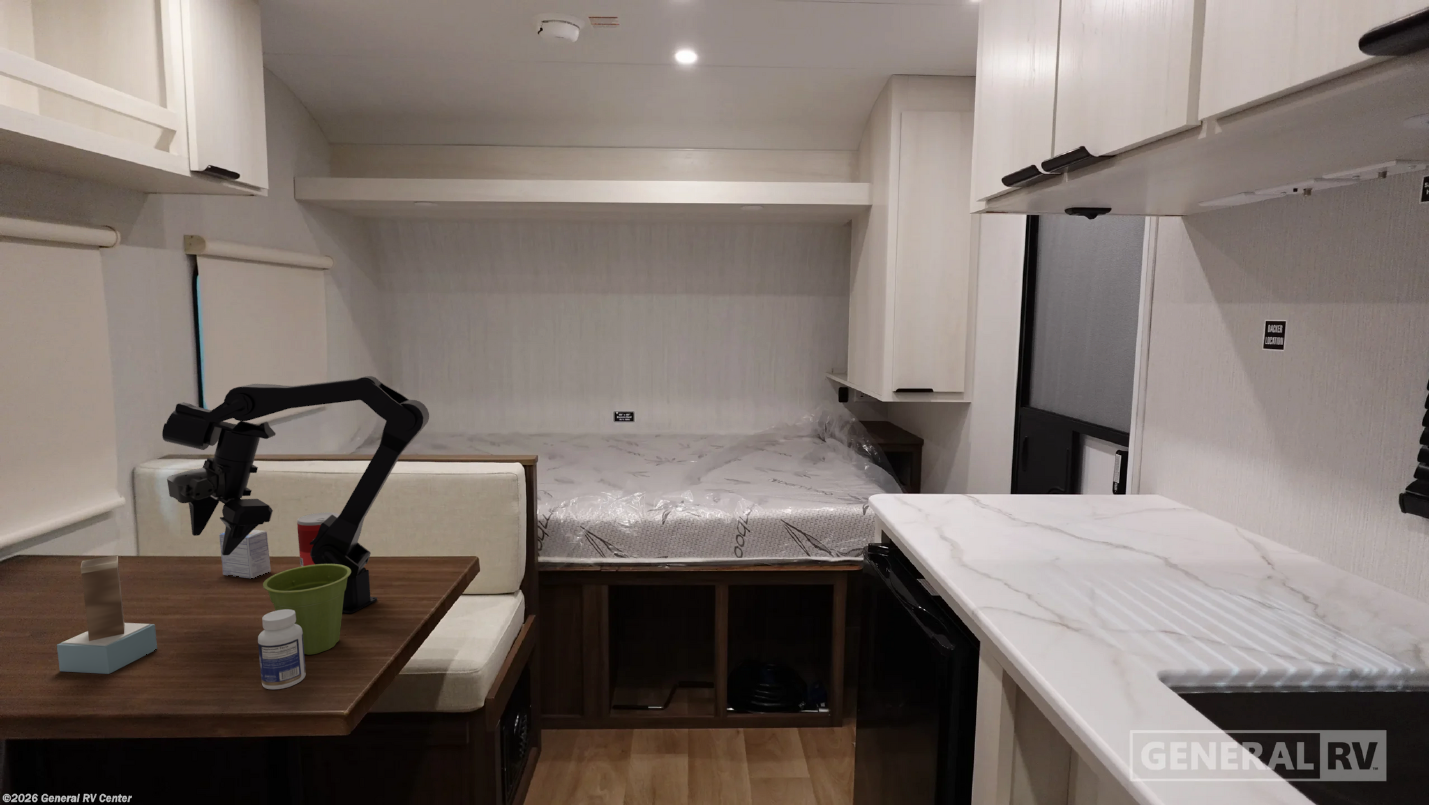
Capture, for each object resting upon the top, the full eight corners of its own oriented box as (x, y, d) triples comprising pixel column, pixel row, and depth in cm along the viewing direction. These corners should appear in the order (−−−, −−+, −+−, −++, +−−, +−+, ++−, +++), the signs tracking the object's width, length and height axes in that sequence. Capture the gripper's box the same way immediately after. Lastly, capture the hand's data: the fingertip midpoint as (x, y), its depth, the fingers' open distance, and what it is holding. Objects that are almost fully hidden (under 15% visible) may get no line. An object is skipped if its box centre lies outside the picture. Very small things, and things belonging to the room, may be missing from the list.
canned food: (326, 577, 145) (322, 523, 144) (291, 575, 147) (287, 521, 145) (352, 564, 152) (349, 513, 151) (319, 562, 154) (315, 511, 153)
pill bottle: (273, 673, 106) (268, 607, 104) (312, 671, 106) (307, 606, 105) (253, 692, 100) (247, 623, 99) (294, 690, 101) (289, 621, 100)
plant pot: (249, 659, 110) (243, 586, 109) (312, 627, 121) (307, 561, 120) (314, 668, 107) (308, 593, 106) (372, 634, 118) (368, 566, 117)
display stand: (157, 649, 114) (154, 623, 113) (109, 673, 106) (105, 646, 105) (111, 646, 115) (108, 621, 114) (59, 671, 107) (56, 643, 106)
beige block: (125, 625, 113) (117, 555, 111) (124, 633, 109) (117, 562, 108) (90, 632, 110) (82, 560, 109) (88, 641, 107) (80, 568, 106)
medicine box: (271, 572, 148) (268, 530, 147) (251, 579, 144) (247, 536, 143) (242, 568, 151) (239, 527, 150) (222, 575, 147) (218, 533, 146)
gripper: (152, 438, 121) (128, 528, 121) (215, 474, 112) (188, 571, 113) (222, 441, 131) (200, 524, 131) (285, 474, 122) (260, 563, 123)
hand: (210, 545), depth 124 cm, fingers open, 9 cm apart
